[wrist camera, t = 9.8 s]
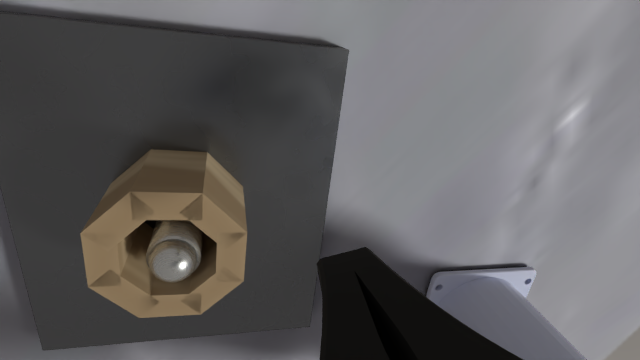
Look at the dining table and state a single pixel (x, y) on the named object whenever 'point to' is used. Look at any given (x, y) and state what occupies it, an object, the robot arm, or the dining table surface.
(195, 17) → the dining table surface
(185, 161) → the ring
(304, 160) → the hub
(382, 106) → the dining table surface
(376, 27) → the dining table surface
